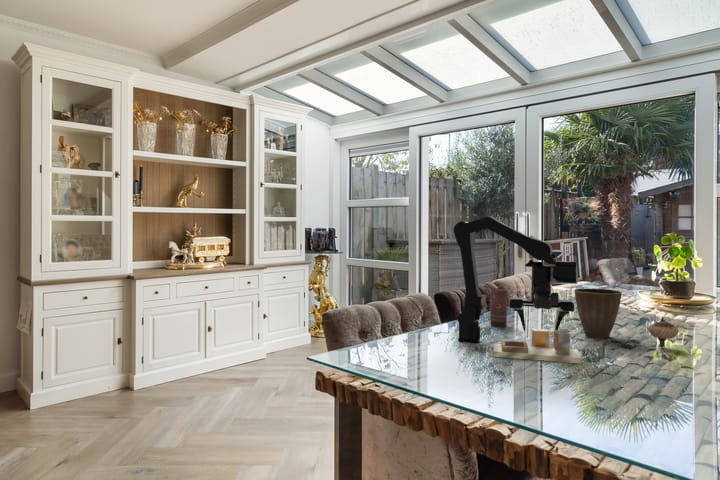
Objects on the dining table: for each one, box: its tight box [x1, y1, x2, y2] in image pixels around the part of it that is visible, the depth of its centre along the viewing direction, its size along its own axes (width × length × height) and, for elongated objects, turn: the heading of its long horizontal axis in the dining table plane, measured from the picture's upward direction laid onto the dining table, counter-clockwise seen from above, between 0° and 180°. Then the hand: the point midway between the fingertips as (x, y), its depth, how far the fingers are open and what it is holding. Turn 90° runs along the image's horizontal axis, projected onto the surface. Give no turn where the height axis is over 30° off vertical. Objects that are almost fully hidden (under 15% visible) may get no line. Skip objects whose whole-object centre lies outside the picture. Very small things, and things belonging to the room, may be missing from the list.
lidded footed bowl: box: [647, 316, 679, 349], centre depth 155 cm, size 8×8×10 cm
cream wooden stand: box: [492, 329, 584, 364], centre depth 144 cm, size 24×10×8 cm, turn 75°
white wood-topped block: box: [530, 327, 550, 348], centre depth 152 cm, size 4×5×6 cm
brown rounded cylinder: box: [489, 288, 509, 327], centre depth 189 cm, size 6×6×14 cm
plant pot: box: [573, 288, 623, 339], centre depth 171 cm, size 15×15×16 cm
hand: (539, 331), depth 152 cm, fingers open, 9 cm apart
